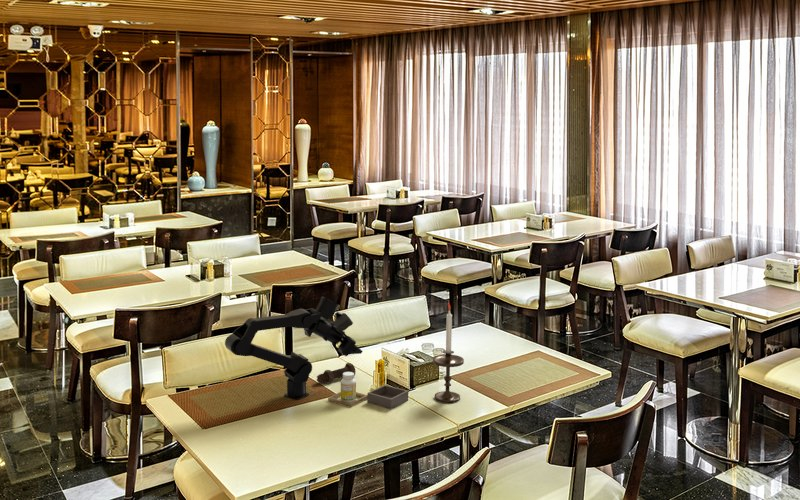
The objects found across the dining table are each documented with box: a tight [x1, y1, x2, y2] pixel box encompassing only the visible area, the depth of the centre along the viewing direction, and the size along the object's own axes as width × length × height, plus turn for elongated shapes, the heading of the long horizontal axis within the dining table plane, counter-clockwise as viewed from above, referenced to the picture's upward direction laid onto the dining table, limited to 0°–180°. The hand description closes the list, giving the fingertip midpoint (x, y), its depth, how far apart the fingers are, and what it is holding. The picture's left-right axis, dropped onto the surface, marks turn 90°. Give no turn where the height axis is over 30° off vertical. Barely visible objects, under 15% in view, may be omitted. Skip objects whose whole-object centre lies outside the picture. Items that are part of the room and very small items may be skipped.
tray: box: [366, 384, 409, 410], centre depth 280 cm, size 10×10×4 cm
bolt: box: [316, 362, 356, 384], centre depth 301 cm, size 6×5×15 cm
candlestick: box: [432, 301, 465, 404], centre depth 281 cm, size 11×11×35 cm
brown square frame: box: [327, 391, 367, 408], centre depth 281 cm, size 10×10×1 cm
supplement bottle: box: [340, 372, 357, 403], centre depth 280 cm, size 5×5×10 cm
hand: (356, 346), depth 294 cm, fingers open, 9 cm apart
